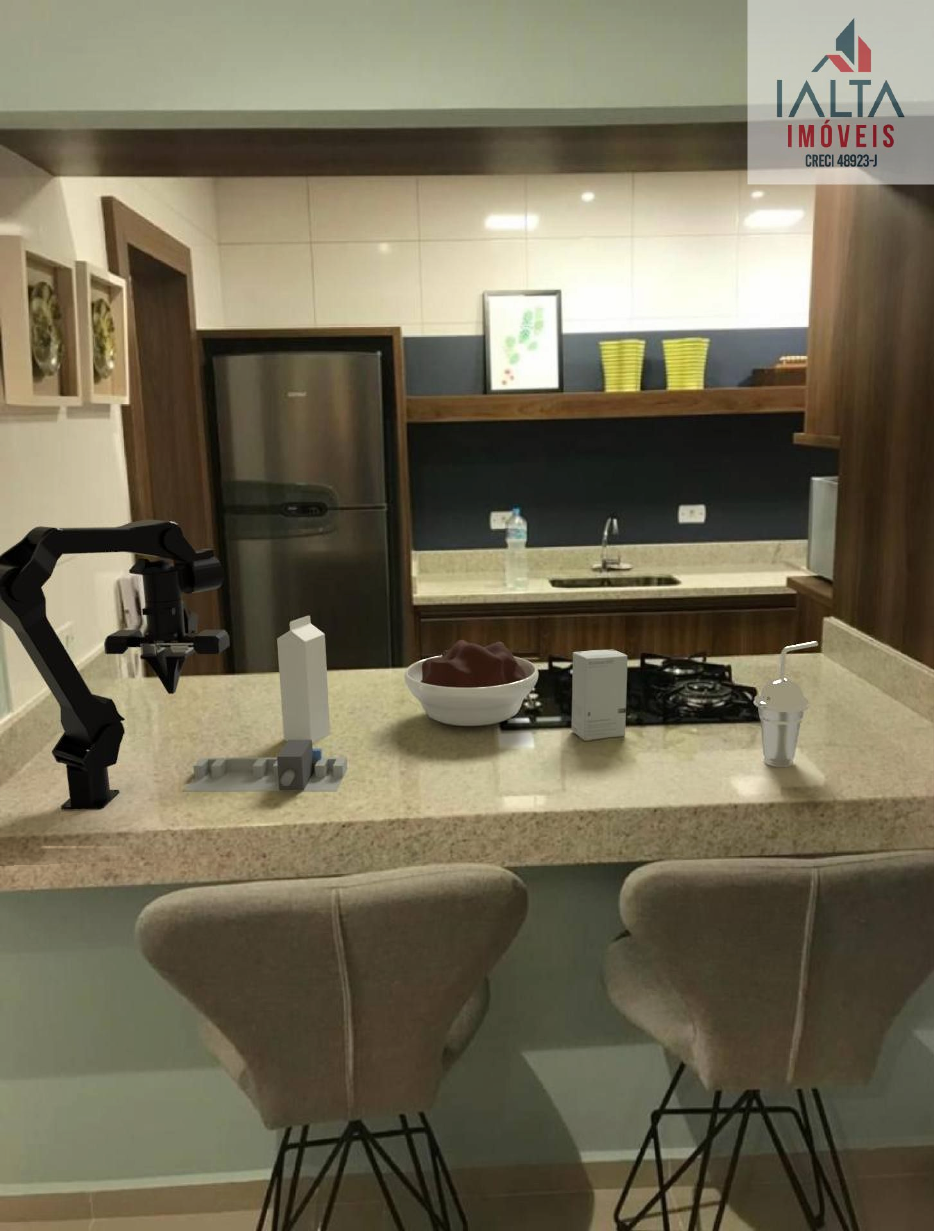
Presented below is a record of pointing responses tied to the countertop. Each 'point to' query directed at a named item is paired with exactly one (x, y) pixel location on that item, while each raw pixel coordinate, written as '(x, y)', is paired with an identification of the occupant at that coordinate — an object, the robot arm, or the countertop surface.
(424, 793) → the countertop surface
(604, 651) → the skincare box
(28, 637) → the robot arm
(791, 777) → the countertop surface
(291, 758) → the dark grey knobbed block
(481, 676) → the white bowl
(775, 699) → the cup with straw
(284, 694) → the milk
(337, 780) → the grey toothed rack
